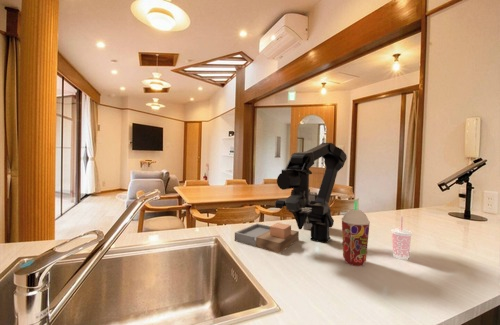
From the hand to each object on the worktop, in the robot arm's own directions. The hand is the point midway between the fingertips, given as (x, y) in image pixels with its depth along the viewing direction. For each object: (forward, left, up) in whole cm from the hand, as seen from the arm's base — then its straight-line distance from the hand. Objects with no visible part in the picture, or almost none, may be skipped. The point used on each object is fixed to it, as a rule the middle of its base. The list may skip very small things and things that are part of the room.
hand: (300, 229), depth 89 cm
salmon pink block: (+8, 0, -4) cm, 9 cm away
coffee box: (+7, -28, -8) cm, 30 cm away
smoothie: (-19, 0, -7) cm, 20 cm away
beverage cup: (-31, -14, -7) cm, 35 cm away
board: (+9, 0, -7) cm, 12 cm away
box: (+19, 0, -7) cm, 21 cm away
